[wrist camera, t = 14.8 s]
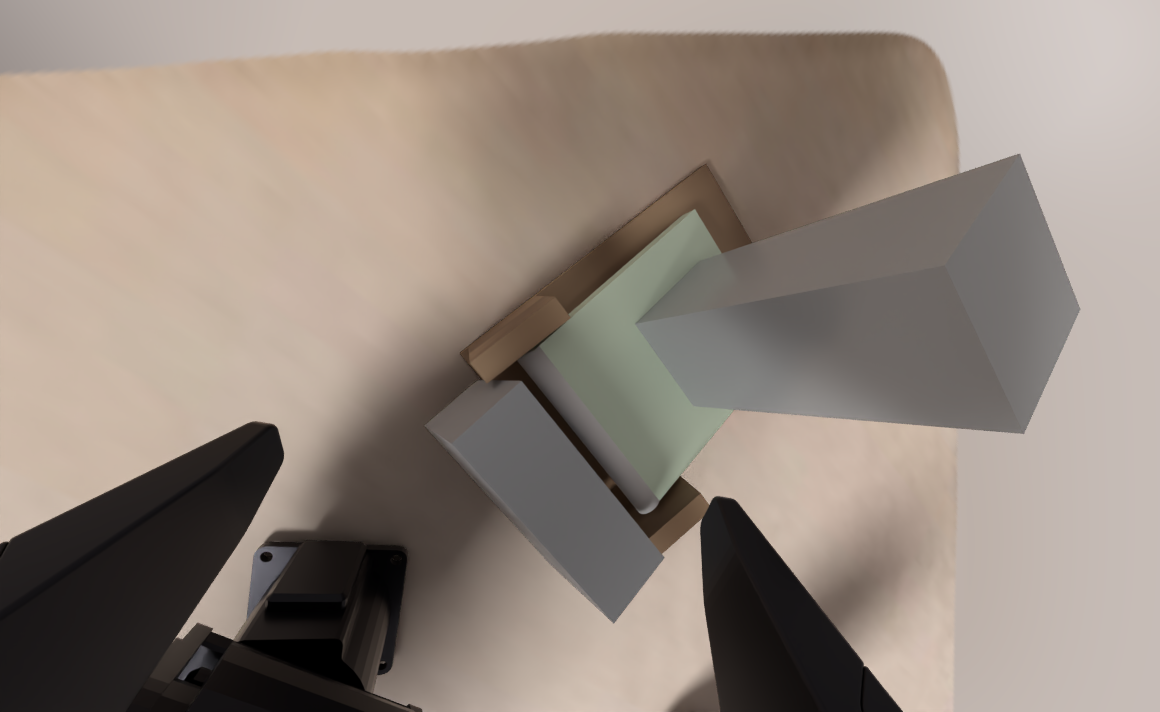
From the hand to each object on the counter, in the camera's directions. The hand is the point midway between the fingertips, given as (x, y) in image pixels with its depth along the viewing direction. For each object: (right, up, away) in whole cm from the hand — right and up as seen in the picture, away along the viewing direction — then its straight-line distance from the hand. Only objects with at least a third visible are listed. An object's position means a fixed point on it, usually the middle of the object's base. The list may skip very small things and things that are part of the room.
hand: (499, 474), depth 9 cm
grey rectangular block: (+7, +4, +13) cm, 15 cm away
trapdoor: (+3, +1, +14) cm, 15 cm away
